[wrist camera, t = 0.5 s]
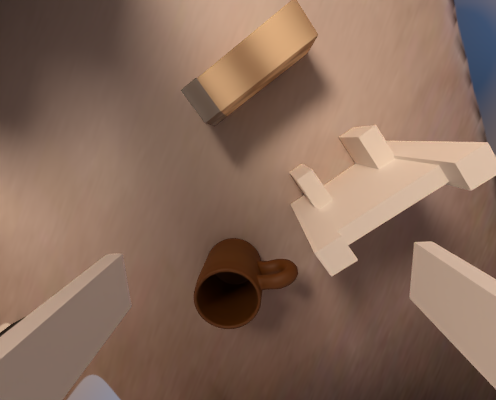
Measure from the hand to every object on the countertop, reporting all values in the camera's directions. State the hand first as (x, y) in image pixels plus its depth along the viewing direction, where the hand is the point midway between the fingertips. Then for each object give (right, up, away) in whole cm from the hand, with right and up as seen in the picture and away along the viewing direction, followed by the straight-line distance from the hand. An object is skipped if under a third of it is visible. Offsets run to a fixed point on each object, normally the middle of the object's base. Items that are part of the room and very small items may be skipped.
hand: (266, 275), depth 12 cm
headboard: (+10, +8, +23) cm, 26 cm away
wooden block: (-1, +18, +21) cm, 28 cm away
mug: (-1, -5, +26) cm, 27 cm away
